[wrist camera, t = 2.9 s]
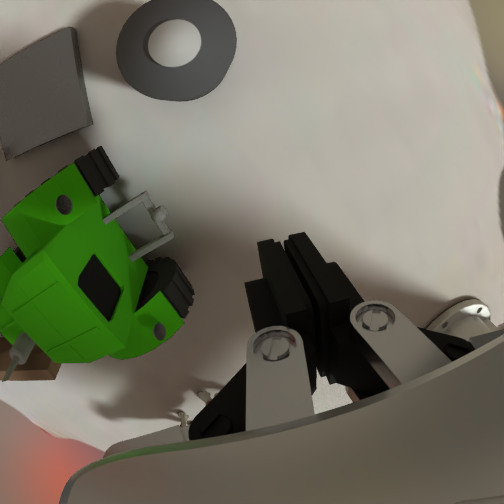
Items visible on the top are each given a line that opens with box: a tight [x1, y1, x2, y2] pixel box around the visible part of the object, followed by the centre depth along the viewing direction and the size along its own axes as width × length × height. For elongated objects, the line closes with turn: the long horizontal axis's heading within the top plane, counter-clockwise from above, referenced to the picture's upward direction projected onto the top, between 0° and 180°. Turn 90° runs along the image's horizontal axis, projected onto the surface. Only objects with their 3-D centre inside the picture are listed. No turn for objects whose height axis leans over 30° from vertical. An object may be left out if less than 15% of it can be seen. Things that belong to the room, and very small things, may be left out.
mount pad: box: [0, 27, 93, 161], centre depth 15 cm, size 7×7×1 cm
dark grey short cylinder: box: [116, 0, 237, 101], centre depth 14 cm, size 6×6×5 cm
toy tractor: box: [0, 146, 195, 382], centre depth 16 cm, size 11×16×10 cm
